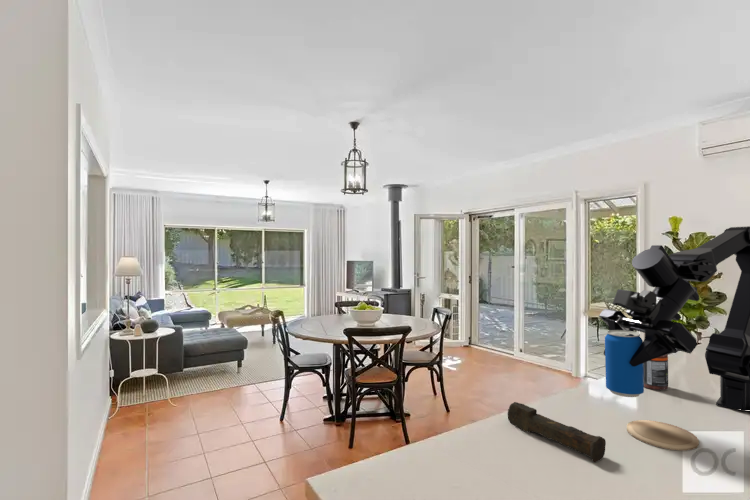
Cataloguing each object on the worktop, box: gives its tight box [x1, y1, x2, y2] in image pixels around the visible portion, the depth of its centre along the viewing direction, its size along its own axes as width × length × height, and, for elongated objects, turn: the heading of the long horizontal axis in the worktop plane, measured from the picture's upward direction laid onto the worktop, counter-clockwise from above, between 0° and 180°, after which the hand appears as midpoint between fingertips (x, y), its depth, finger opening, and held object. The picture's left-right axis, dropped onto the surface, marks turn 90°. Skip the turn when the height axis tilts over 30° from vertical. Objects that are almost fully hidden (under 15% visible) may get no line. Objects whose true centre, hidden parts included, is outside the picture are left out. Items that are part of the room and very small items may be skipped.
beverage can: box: [604, 330, 645, 398], centre depth 80 cm, size 6×6×12 cm
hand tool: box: [507, 401, 606, 463], centre depth 75 cm, size 19×4×5 cm, turn 31°
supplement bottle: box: [643, 354, 669, 391], centre depth 102 cm, size 6×6×11 cm
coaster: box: [626, 419, 700, 452], centre depth 75 cm, size 11×11×1 cm
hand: (617, 360), depth 80 cm, fingers closed on beverage can, 6 cm apart
